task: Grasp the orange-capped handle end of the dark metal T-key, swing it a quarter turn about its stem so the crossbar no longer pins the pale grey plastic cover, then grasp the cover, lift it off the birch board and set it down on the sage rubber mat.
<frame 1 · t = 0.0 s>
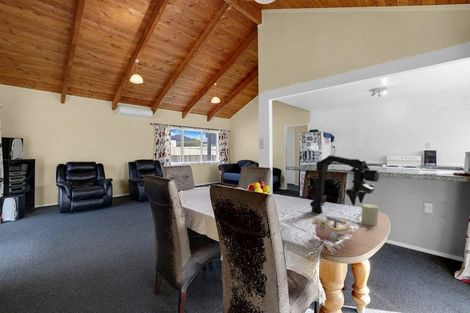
hand: (357, 204, 137), 15 cm above the table, fingers open, 9 cm apart
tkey: (335, 223, 134), point 4 cm above the table, hinge at 0.0°
cover: (321, 222, 141), point 1 cm above the table, touching board
can: (369, 223, 145), on the table
decorative fruit: (323, 240, 120), on the table
mat: (303, 227, 137), on the table
board: (330, 227, 137), on the table
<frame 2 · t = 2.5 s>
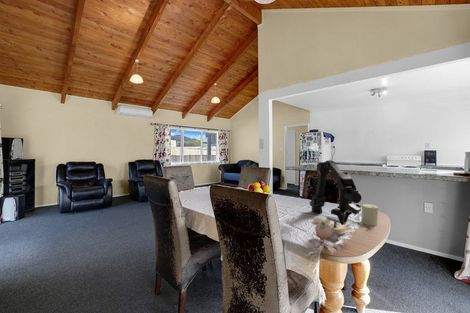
hand: (343, 224, 130), 5 cm above the table, fingers closed on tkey, 2 cm apart
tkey: (335, 223, 134), point 4 cm above the table, hinge at 0.0°, touching gripper
everything else where it was.
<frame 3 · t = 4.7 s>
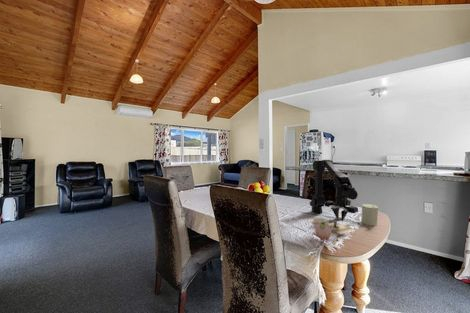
hand: (340, 220, 136), 5 cm above the table, fingers open, 3 cm apart
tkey: (335, 223, 134), point 4 cm above the table, hinge at 85.6°
everything else where it was.
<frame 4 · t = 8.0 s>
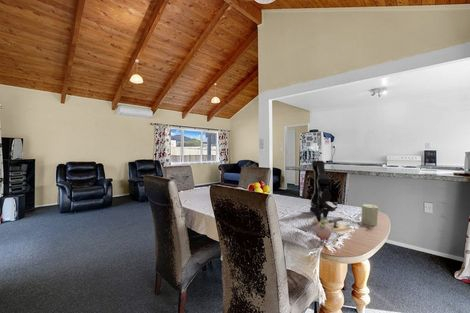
hand: (321, 220, 141), 3 cm above the table, fingers closed on cover, 6 cm apart
cover: (321, 222, 141), point 2 cm above the table, touching board, gripper
everything else where it was.
when the fingers open (2 cm above the table, at t = 12.0 s): cover stays where it is, resting on mat.
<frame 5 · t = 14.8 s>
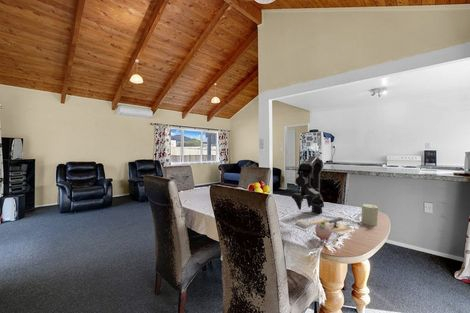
hand: (304, 208, 136), 12 cm above the table, fingers open, 9 cm apart
cover: (304, 226, 137), resting on mat
everything else where it was.
at the end: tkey at +86° (first picture: +0°); cover inside the target area (0.1 cm from its centre), resting on mat; cover tilted 0° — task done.
